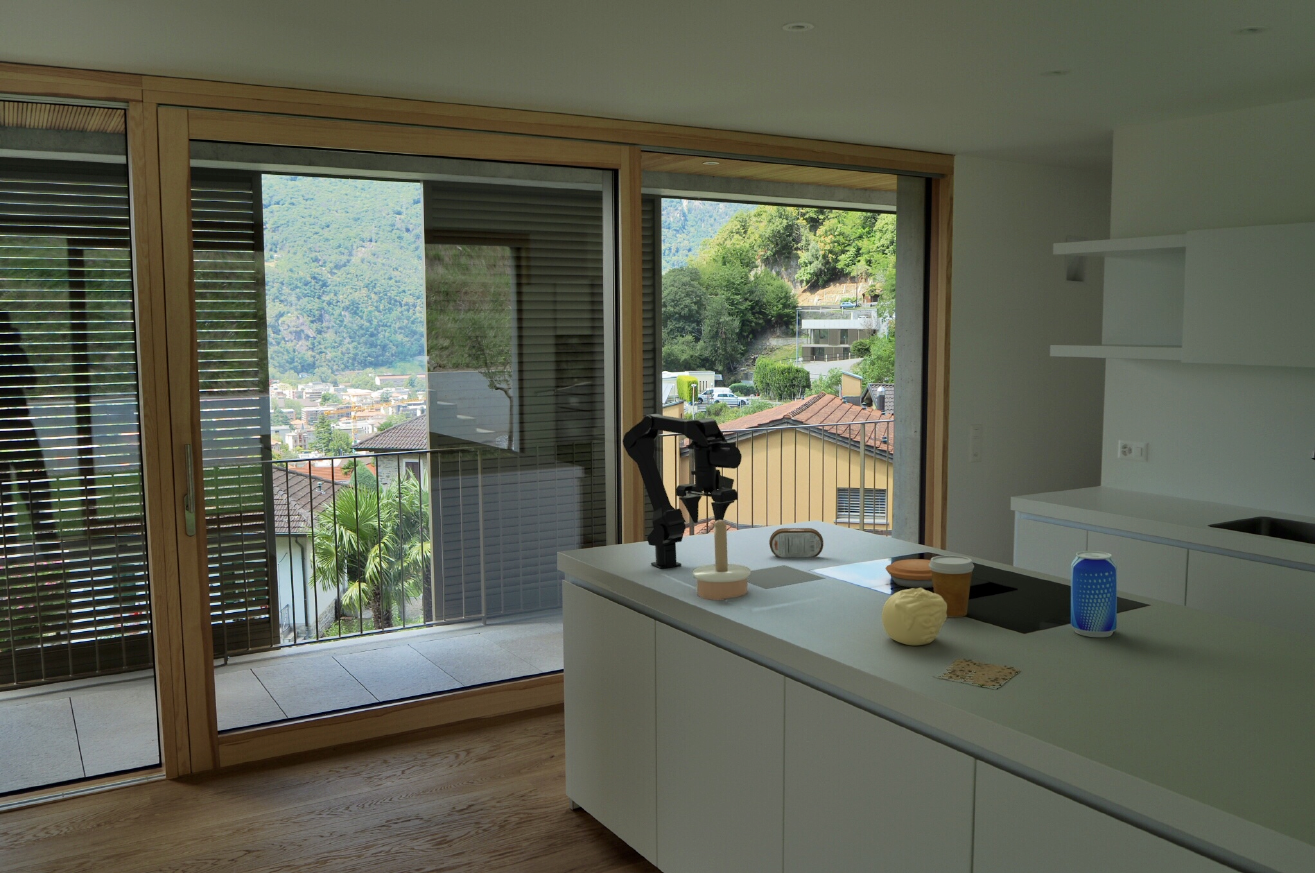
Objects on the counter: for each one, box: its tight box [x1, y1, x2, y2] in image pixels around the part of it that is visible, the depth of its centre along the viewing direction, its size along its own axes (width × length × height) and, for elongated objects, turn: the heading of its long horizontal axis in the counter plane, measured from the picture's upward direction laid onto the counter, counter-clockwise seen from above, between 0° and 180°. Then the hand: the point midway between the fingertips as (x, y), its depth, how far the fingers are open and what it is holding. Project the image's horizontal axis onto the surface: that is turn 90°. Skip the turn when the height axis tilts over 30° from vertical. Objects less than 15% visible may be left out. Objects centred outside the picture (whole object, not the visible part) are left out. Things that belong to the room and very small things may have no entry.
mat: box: [747, 564, 826, 590], centre depth 253 cm, size 18×18×1 cm
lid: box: [692, 519, 752, 582], centre depth 239 cm, size 14×14×14 cm
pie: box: [885, 558, 933, 589], centre depth 244 cm, size 15×16×5 cm
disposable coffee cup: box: [929, 554, 975, 618], centre depth 215 cm, size 10×10×12 cm
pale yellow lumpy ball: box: [881, 587, 948, 646], centre depth 197 cm, size 12×12×11 cm
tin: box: [768, 527, 824, 558], centre depth 275 cm, size 15×3×8 cm, turn 84°
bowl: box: [696, 579, 749, 601], centre depth 240 cm, size 12×12×4 cm
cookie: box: [938, 658, 1021, 688], centre depth 177 cm, size 12×12×1 cm
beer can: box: [1070, 550, 1118, 638], centre depth 198 cm, size 8×8×16 cm
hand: (707, 524), depth 260 cm, fingers open, 9 cm apart
